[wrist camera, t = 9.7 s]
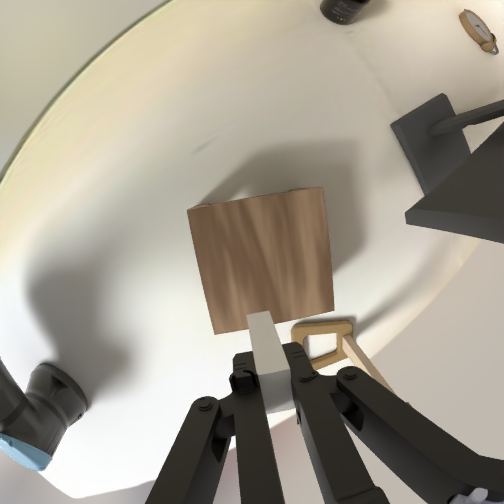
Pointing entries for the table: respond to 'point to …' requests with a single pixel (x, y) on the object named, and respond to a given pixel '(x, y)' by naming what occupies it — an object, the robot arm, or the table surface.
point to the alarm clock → (478, 31)
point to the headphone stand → (338, 347)
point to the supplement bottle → (342, 10)
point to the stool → (264, 257)
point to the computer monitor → (455, 169)
